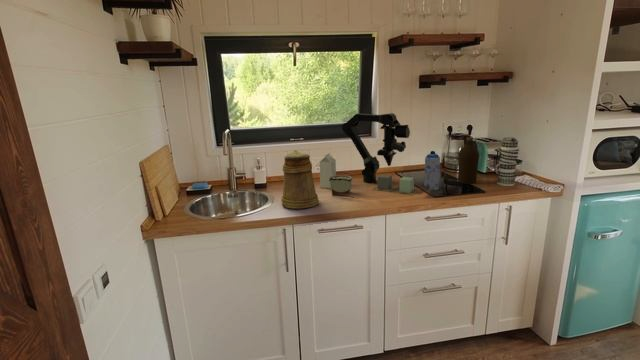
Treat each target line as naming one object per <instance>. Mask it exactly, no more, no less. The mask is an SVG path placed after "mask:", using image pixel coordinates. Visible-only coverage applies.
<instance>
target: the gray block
mask: <svg viewBox="0 0 640 360" xmlns="http://www.w3.org/2000/svg"><path fill="white" fill-rule="evenodd" d="M377 186H378V189H383V190H389V189H390V188H392V186H393V175H391V174H381V175H378V176H377Z"/></svg>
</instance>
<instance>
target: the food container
mask: <svg viewBox="0 0 640 360" xmlns="http://www.w3.org/2000/svg"><path fill="white" fill-rule="evenodd" d="M329 181H330V184H331V188H330V190H331V196H332V197H340V198H341V197H342V198H351V186H352V182H353V179H352V176H350V175H345V174H342V175H341V174H336V176H331V177H330V178H329Z"/></svg>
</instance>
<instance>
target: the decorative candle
mask: <svg viewBox="0 0 640 360" xmlns="http://www.w3.org/2000/svg"><path fill="white" fill-rule="evenodd" d="M500 142H501V146H500V148H498V150H499V152H498V157H499V158H498V163H499V167H498V170H497V172H498V173H497V175H498V176H497V180H496V181H497V182H496V184H497V185H499V186H503V187H513V186H515V184H516V181H515V180H516V178H515V177H516V174H517V172H516V166H517V165H516V164H517V163H518V162H517V161H518V157H519V156H518V155H519V151H520V149H518V143H519V140H517V138H516V137H511V136H510V137H504V138H503V139H502V140H500Z"/></svg>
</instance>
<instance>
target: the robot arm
mask: <svg viewBox="0 0 640 360" xmlns="http://www.w3.org/2000/svg"><path fill="white" fill-rule="evenodd" d="M361 122H370V123H371V122H373V123H379V124H381V125H382V126H380V128H379V129H380V130H383V139H382V142H383V146H382V148H380V149H378V150H377V152H376V153H377V154H376V155H377V156H382V157H383V158H384V160H385V163H386V165H387V166H388V167H390V166H391V165H392V162H393V159H394V156H395V155H396V154H397V152H399V153H403V152H404V151H405V149H406V148H407V145H406V142H405V141H401V142H399V141H398V139H397V138H399V139H408V138H410V135H411V131H410V127H409V124H401V123H400V122H399V121H398V119H397V115H396V114H395V113H393V112H390V113H389V112H388V113H384V114H370V113H369V114H368V113H361V112H360V113H359V112H358V113H355V114H354V115H353V116H352V117H350V119H349V120H347V121H346V122H344V123H343V124H342V125H341V131H342V132H343V133H344V135H345V136H347V137H348V138H349V139H350V140H351V141H352V143H353V145H354V147H355V148H356V150H357V151H358V153H359V155H360V156H361V159H362V161H363V166H364V169H362V170H361V175H362V176H363V177H362V178H363V180H362V181H363V183H365V184H376V183H377V176H376V173H377V172H378V171H379V169H380V166H381V165H380V161H379V160H378V158H377V156H372V155H371V154H370V151H369V150H368V148H367V146H366V145H365V144H364V142H363V140H362V138H361V137H360V136H359V132H358V127H357V126H359V124H360V123H361Z"/></svg>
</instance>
